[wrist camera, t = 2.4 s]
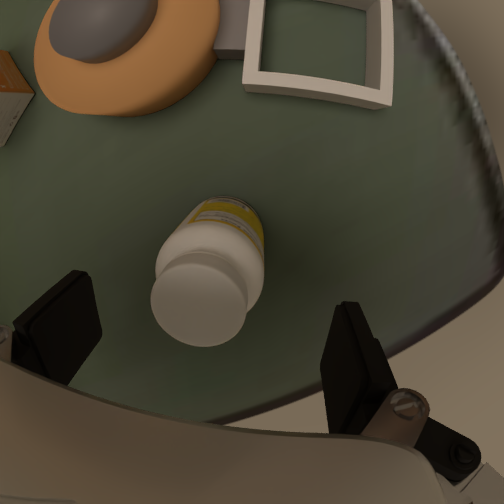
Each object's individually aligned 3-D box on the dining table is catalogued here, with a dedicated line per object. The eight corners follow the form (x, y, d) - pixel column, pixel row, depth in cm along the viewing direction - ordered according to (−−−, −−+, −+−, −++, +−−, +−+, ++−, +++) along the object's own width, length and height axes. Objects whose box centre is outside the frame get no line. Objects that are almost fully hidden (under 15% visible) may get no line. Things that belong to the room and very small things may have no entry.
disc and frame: (372, 133, 18) (421, 134, 11) (67, 123, 18) (4, 127, 11) (375, -11, 13) (412, -54, 7) (88, -8, 13) (40, -36, 7)
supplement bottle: (213, 280, 22) (181, 372, 13) (173, 218, 20) (108, 281, 11) (278, 248, 21) (286, 333, 12) (239, 180, 19) (216, 218, 10)
